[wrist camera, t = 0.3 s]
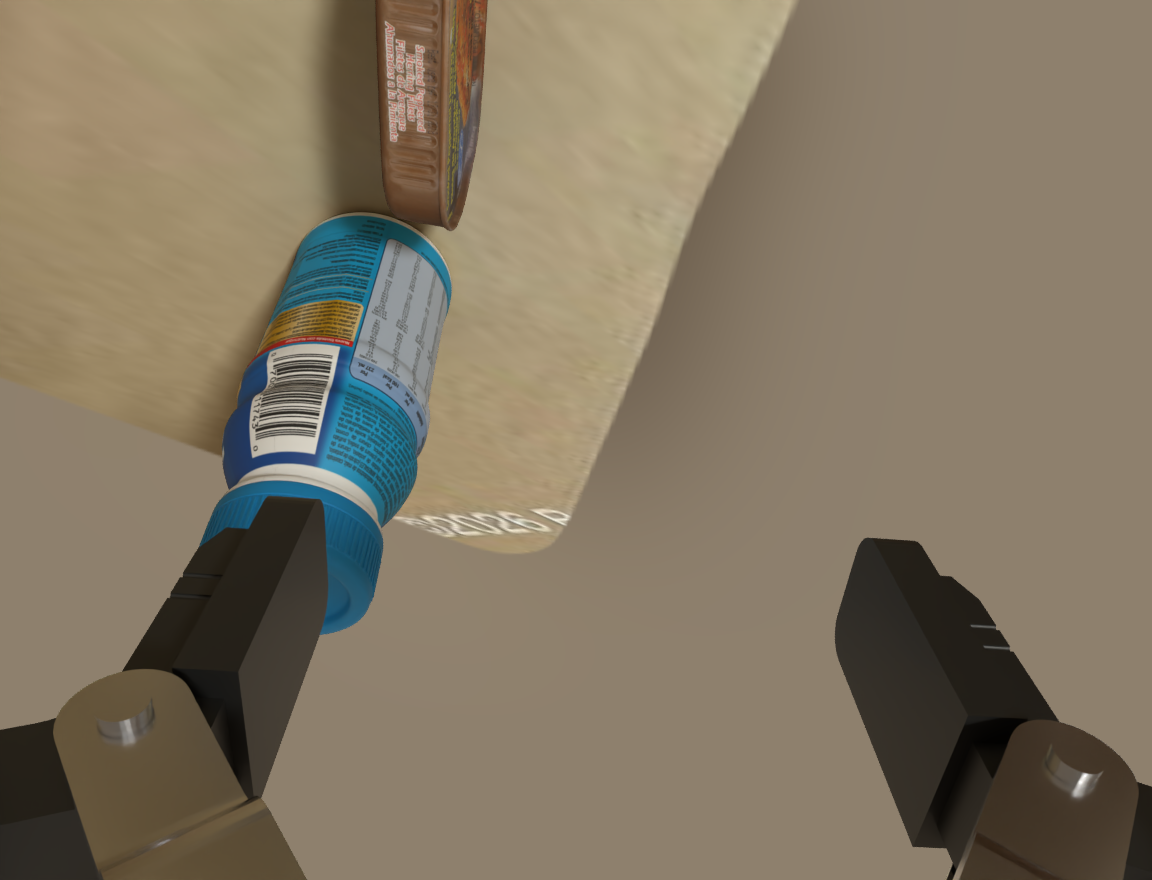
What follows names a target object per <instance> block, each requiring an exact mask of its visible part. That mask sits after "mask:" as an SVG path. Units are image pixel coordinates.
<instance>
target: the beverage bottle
mask: <svg viewBox="0 0 1152 880" xmlns="http://www.w3.org/2000/svg"><path fill="white" fill-rule="evenodd" d="M451 293H452V283H451V277H450V272H449V269H448V267H447V264H446V262H445V260H444V258H443V256H442V255H441V253H440V252H439V250H438V249H437V248H436V247H435V245H434V244H433V243H432V242H431V241H430V240H429V239H428V238H427V237H426V236H425V235H423V234H422V233H421V232H419V231H418V230H417V229H415V228H413V227H412V226H410V225H408V224H406V223H404V222H402V221H400V220H398V219H395V218H392V217H389V216H386V215H381V214H376V213H368V212H354V213H346V214H341V215H338V216H334V217H332V218H329V219H327V220H325V221H323V222H321V223H320V224H318V225H317V226H316V227H314V228H313V229H312V230H311V231H310V232H309V233H308V234H307V235H306V237H305V238H304V239H303V241H302V243H301V245H300V247H299V249H298V251H297V254H296V257H295V259H294V263H293V266H292V269H291V271H290V274H289V276H288V279H287V281H286V284H285V286H284V289H283V291H282V293H281V296H280V298H279V301H278V303H277V305H276V308H275V310H274V312H273V315H272V317H271V320H270V322H269V324H268V327H267V329H266V331H265V334H264V336H263V339H262V341H261V343H260V346H259V348H258V350H257V353H256V355H255V358H254V359H253V360H252V361H251V362H250V364H249V365H248V367H247V368H246V370H245V372H244V374H243V377H242V379H241V382H240V385H239V389H238V393H237V402H236V406H237V409H236V410H235V411H234V412H233V414H232V415H231V417H230V418H229V420H228V422H227V424H226V427H225V430H224V434H223V441H222V462H223V469H224V474H225V478H226V482H227V485H228V488H229V491H227V492H226V494H225V495H224V496H223V498H222V499H221V500H220V501H219V502H218V504H217V505H216V507H215V509H214V511H213V513H212V516H211V518H210V521H209V522H208V525H207V528H206V530H205V533H204V535H203V538H202V541H201V543H200V546H202V545H203V544H204V543H206V542H207V541H208V540H210V539H211V538H213V537H214V536H215V535H217V534H218V533H219V532H221V531H222V530H224V529H225V528H226V527H230V528H245V529H249V527H250V525H251V523H252V521H253V520H254V518H255V516H256V514H257V512H258V510H259V509H260V507H261V505H262V503H263V501H264V500H265V498H266V497H267V496H282V497H297V498H312V499H320V500H321V501H322V503H323V506H324V515H325V533H326V551H327V569H328V601H327V609H326V615H325V619H324V623H323V627H322V630H321V632H320V635H322V634H329V633H333V632H337V631H340V630H343V629H346V628H347V627H350V626H352V625H353V624H355V623H356V622H358V621H359V620H360V619H361V618H362V617H363V616H364V615H365V613H366V611H367V610H368V608H369V605H370V603H371V601H372V598H373V597H374V592H375V587H376V583H377V578H378V573H379V568H380V564H381V558H382V552H383V538H382V530H381V528H382V527H383V526H384V525H385V524H386V523H387V522H388V521H389V520H391V519H392V518H393V516H394V515H395V514H396V513H397V512H398V511H399V509H400V508H401V507H402V505H403V504H404V502H405V501H406V499H407V498H408V496H409V494H410V492H411V490H412V488H413V486H414V483H415V480H416V476H417V457H418V456H419V454H420V452H421V451H422V449H423V446H424V444H425V441H426V437H427V434H428V429H429V423H430V411H429V405H428V401H429V395H430V390H431V384H432V379H433V374H434V368H435V363H436V358H437V353H438V347H439V342H440V337H441V333H442V328H443V324H444V321H445V318H446V316H447V313H448V309H449V305H450V300H451ZM200 546H199V547H200Z"/></svg>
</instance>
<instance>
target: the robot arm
mask: <svg viewBox="0 0 1152 880" xmlns="http://www.w3.org/2000/svg"><path fill="white" fill-rule="evenodd" d="M327 601H328V569H327V551H326V533H325V515H324V506H323V503H322V501H321V500H320V499H312V498H297V497H282V496H267V497H266V498H265V500H264V501H263V503H262V505H261V507H260V509H259V510H258V512H257V514H256V516H255V518H254V520H253V521H252V523H251V525H250V527H249V529H245V528H230V527H226V528H225V529H224V530H222V531H221V532H219V533H218V534H217V535H215V536H214V537H213V538H211V539H210V540H208V541H207V542H206V543H204V544H203V545H202V546H200V547H199V548H198V549H197V551H196V553H195V554H194V556H193V557H192V559H191V561H190V563H189V564H188V566H187V567H186V569H185V570H184V572H183V577H180V578H179V580H178V582H177V583H176V585H175V587H174V589H173V590H172V591H171V596H170V598H167V600H166V601H165V603H164V604H163V606H162V608H161V609H160V611H159V612H158V614H157V616H156V617H155V619H154V621H153V622H152V624H151V625H150V627H149V629H148V630H147V632H146V634H145V635H144V637H143V639H142V640H141V642H140V643H139V645H138V646H137V648H136V650H135V651H134V653H133V654H132V656H131V658H130V660H129V661H128V663H127V664H126V666H125V667H124V669H123V671H122V672H119V673H116V674H113V675H109V676H107V677H104V678H102V679H99V680H97V681H95V682H93V683H91V684H90V685H88V686H86V687H85V688H83V689H82V690H80V691H79V692H77V693H76V694H75V695H74V696H73V697H72V698H70V699H69V700H68V702H67V703H66V704H65V705H64V706H63V707H62V709H61V710H60V712H59V714H58V715H57V717H56V718H54V719H51V720H48V721H44V722H40V723H35V724H30V725H25V726H19V727H14V728H8V729H4V730H0V880H307V879H306V877H305V875H304V873H303V871H302V869H301V868H300V866H299V864H298V862H297V860H296V858H295V856H294V855H293V853H292V851H291V849H290V847H289V845H288V844H287V842H286V840H285V838H284V836H283V834H282V832H281V831H280V829H279V827H278V825H277V823H276V821H275V820H274V818H273V816H272V814H271V812H270V810H269V809H268V807H267V806H266V804H265V803H264V801H263V800H262V799H261V797H262V794H263V791H264V788H265V786H266V783H267V780H268V777H269V775H270V772H271V769H272V766H273V764H274V761H275V758H276V755H277V752H278V749H279V747H280V744H281V741H282V738H283V736H284V733H285V730H286V727H287V724H288V721H289V719H290V716H291V713H292V711H293V708H294V705H295V702H296V699H297V696H298V694H299V691H300V688H301V685H302V683H303V680H304V677H305V674H306V671H307V668H308V666H309V663H310V660H311V658H312V655H313V652H314V649H315V646H316V644H317V641H318V638H319V635H320V632H321V630H322V627H323V623H324V619H325V615H326V609H327ZM835 644H836V652H837V656H838V659H839V662H840V665H841V667H842V670H843V672H844V675H845V677H846V680H847V682H848V685H849V687H850V690H851V692H852V695H853V697H854V700H855V702H856V705H857V708H858V710H859V712H860V715H861V717H862V720H863V723H864V725H865V728H866V730H867V733H868V735H869V737H870V740H871V743H872V745H873V748H874V750H875V753H876V755H877V758H878V760H879V763H880V765H881V768H882V770H883V773H884V775H885V778H886V780H887V783H888V785H889V788H890V791H891V793H892V796H893V798H894V800H895V803H896V806H897V808H898V811H899V813H900V816H901V818H902V821H903V823H904V826H905V828H906V831H907V833H908V836H909V838H910V841H911V843H912V846H913V847H929V848H947V850H948V852H949V855H950V857H951V860H952V862H953V863H952V865H951V867H950V870H949V872H948V874H947V876H946V878H945V880H1152V787H1151V786H1148V785H1145V784H1142V783H1139V782H1137V781H1136V779H1135V776H1134V774H1133V773H1132V771H1131V769H1130V768H1129V766H1128V765H1127V764H1126V762H1125V761H1124V760H1123V759H1122V758H1121V757H1120V756H1119V755H1118V754H1117V753H1116V752H1115V751H1114V750H1113V749H1112V748H1110V747H1109V746H1107V745H1106V744H1105V743H1104V742H1102V741H1101V740H1099V739H1098V738H1096V737H1095V736H1093V735H1091V734H1089V733H1087V732H1085V731H1083V730H1081V729H1079V728H1076V727H1074V726H1071V725H1068V724H1065V723H1061V722H1059V721H1058V719H1057V718H1056V716H1055V715H1054V713H1053V711H1052V710H1051V709H1050V707H1049V705H1048V704H1047V702H1046V701H1045V699H1044V698H1043V696H1042V695H1041V693H1040V692H1039V690H1038V689H1037V687H1036V686H1035V684H1034V682H1033V681H1032V679H1031V678H1030V676H1029V675H1028V673H1027V672H1026V670H1025V669H1024V667H1023V666H1022V664H1021V663H1020V661H1019V659H1018V658H1017V656H1016V655H1015V653H1014V652H1010V649H1009V648H1010V646H1009V644H1008V643H1007V641H1006V640H1005V638H1004V637H1003V635H1002V634H1001V632H1000V631H999V630H996V624H995V623H994V621H993V620H992V618H991V617H990V615H989V614H988V612H987V611H986V609H985V608H984V606H983V605H982V603H981V601H980V600H979V599H978V598H977V597H975V596H974V595H973V594H972V593H970V592H969V591H968V590H967V589H966V588H965V587H963V586H962V585H961V584H959V583H958V582H957V581H956V580H955V579H953V578H952V577H950V576H940V575H939V573H938V572H937V570H936V568H935V567H934V565H933V564H932V562H931V560H930V559H929V557H928V555H927V554H926V552H925V551H924V549H923V547H922V546H921V545H920V544H919V543H918V542H916V541H908V540H893V539H878V538H865V539H864V540H863V541H862V542H861V543H860V545H859V547H858V550H857V552H856V556H855V559H854V562H853V566H852V569H851V572H850V576H849V579H848V583H847V586H846V589H845V592H844V596H843V599H842V602H841V606H840V609H839V613H838V616H837V620H836V627H835Z"/></svg>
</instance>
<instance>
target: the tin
mask: <svg viewBox="0 0 1152 880" xmlns="http://www.w3.org/2000/svg"><path fill="white" fill-rule="evenodd" d="M487 1H488V0H376V41H377V71H378V91H379V119H380V140H381V161H382V177H383V186H384V192H385V197H386V201H387V204H388V206H389V209H390V210H391V212H392V213H393V214H394V215H395V216H396V217H398V218H400V219H403V220H407V221H412V222H417V223H423V224H429V225H435V226H440V227H444V228H446V229H447V230H449V231H453V230H454V229H455V228H456V227H457V225H458V222H459V220H460V217H461V215H462V212H463V208H464V205H465V201H466V197H467V192H468V187H469V183H470V177H471V172H472V167H473V162H474V157H475V152H476V146H477V140H478V132H479V123H480V113H481V99H482V88H483V73H484V56H485V37H486V19H487Z"/></svg>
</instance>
